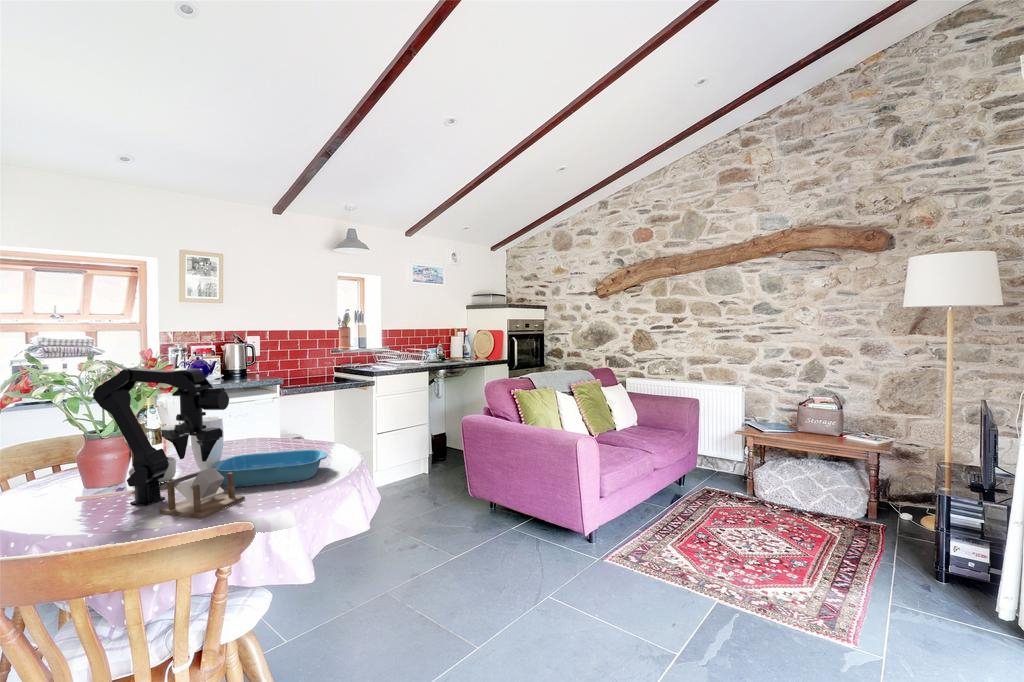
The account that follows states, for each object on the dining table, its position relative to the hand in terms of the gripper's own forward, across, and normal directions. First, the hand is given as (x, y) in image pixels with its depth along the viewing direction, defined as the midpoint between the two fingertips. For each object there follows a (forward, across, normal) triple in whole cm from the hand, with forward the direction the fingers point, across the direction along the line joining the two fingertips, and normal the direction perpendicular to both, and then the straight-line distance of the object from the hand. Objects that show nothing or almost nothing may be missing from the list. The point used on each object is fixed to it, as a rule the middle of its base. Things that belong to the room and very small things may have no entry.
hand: (193, 460), depth 154 cm
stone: (+8, +7, -3) cm, 11 cm away
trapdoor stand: (+13, +7, -3) cm, 15 cm away
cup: (+13, -14, +18) cm, 26 cm away
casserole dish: (+13, +6, +25) cm, 29 cm away
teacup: (+14, -30, +9) cm, 34 cm away
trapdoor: (+8, +6, -3) cm, 10 cm away
